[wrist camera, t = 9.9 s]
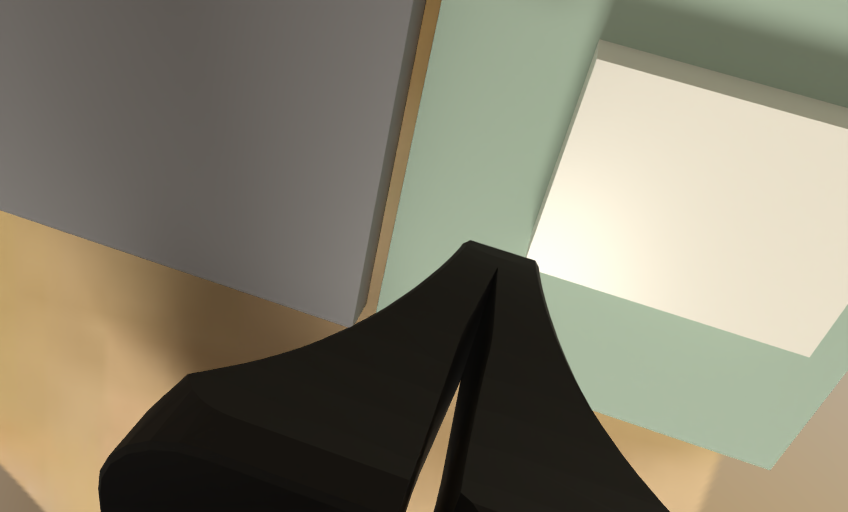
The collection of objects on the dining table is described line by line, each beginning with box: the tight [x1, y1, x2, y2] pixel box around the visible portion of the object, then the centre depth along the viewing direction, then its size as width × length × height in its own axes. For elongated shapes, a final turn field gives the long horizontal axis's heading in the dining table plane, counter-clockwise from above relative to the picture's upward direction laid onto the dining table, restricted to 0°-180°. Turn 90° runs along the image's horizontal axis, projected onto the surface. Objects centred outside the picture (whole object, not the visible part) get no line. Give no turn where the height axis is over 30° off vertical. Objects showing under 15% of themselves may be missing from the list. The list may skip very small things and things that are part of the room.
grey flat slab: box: [0, 0, 426, 328], centre depth 20 cm, size 16×17×2 cm
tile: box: [526, 39, 848, 357], centre depth 17 cm, size 6×8×2 cm
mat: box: [376, 0, 848, 470], centre depth 18 cm, size 18×14×1 cm
